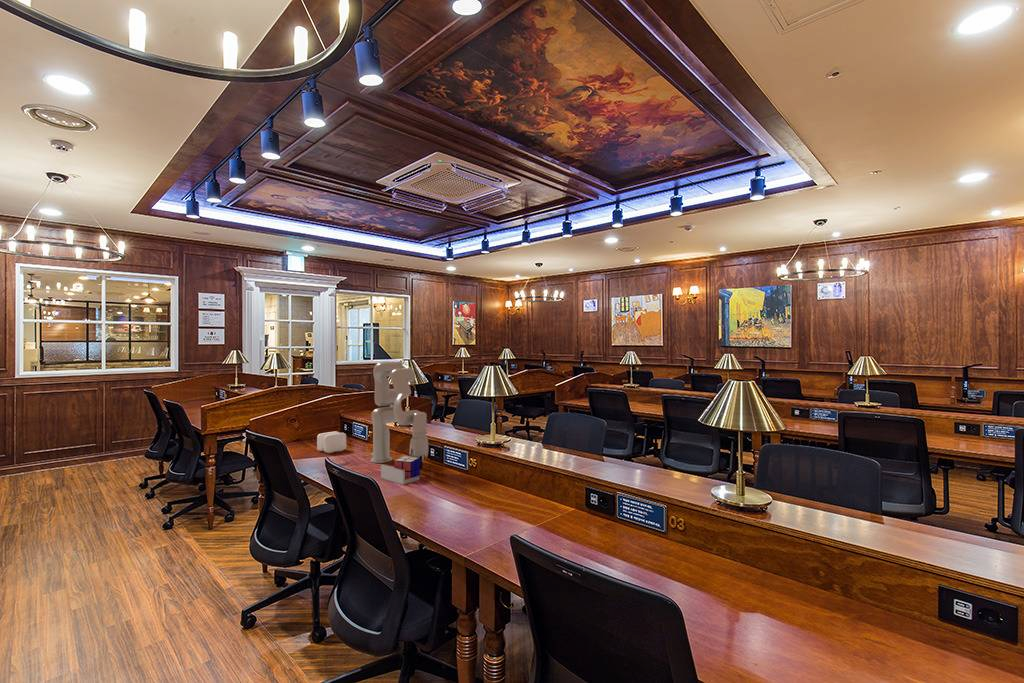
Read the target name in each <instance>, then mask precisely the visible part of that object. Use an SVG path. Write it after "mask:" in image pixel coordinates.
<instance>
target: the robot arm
mask: <svg viewBox="0 0 1024 683" xmlns="http://www.w3.org/2000/svg"><path fill="white" fill-rule="evenodd" d="M372 373H373V374H372V375H373V380H374V404H375V405H377V406H378V408H375V409H373V411H372V412H371V414H370V415H371V422H372V452H371V453H370V456H372V457H371V458H370V462H371V463H374V464H383V463H385V464H386V463H388V462H391V461H393V457H392V456H390V439H391V438H390V437H391V436H390V429H389V427H388V426H387V424H389V423H395V422H396V423H397V424H398V425H399V426H407V425H408V426H409V425H412V437H411V439H410V442H409V452H408V453H409V457H419V458H420V470H423V462H424V461H425V460H424V459H425V458H427V457H428V455H429V449H430V447H429V440H428V436H427V435H428V434H429V433H428V431H427V426H428V425H427V423H428V422H427V416H428V414H427V413H426V412H424V411H419V410H417V409H413V410H403V408H402V401H403V400H404V399H406V398H408V397H409V396H410V395H411V394H412V390H411V387H410V384H409V383H413V382H414V381H415V378H416V373H415V371H414V370H413V369H412V368H411V367H410V366H409V365H407V364H406V363H404V362H402V361H386V362H385V361H383V362H378V363H377V364H375V366H374V367H373V371H372ZM388 377H390V379H391V383H392V386H393V388H390V384H391V383H390V380H389V379H388ZM384 406H385V407H384Z"/></svg>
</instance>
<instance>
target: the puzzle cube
mask: <svg viewBox="0 0 1024 683" xmlns="http://www.w3.org/2000/svg"><path fill="white" fill-rule="evenodd" d="M393 467H395V468H398V469H402V470H405V479H408V478H411V477H415V476H418V475H419V476H420V477H421V469H420V458H419V457H411V456H406V455H404V456H401V457H399V458H398V459H395V460H394V461H393Z"/></svg>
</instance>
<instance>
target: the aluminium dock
mask: <svg viewBox="0 0 1024 683" xmlns="http://www.w3.org/2000/svg"><path fill="white" fill-rule="evenodd" d="M420 477H421V475H420V476H419V475H418V476H415V477H411V478H408V479H405V470H402V469H398V468H395V467H394V466H391V465H388V464H383V463H381V464H380V478H381V479H384V480H385V481H386V480H387V481H390V482H394V483H397V484H400V485H403V486H404V485H406V484H410V483H414V482H416V481H420V479H421V478H420Z"/></svg>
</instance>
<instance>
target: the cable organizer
mask: <svg viewBox="0 0 1024 683" xmlns="http://www.w3.org/2000/svg"><path fill="white" fill-rule="evenodd" d="M346 448H347V434H346V433H344V432H339V431H337V430H336V431H335V430H334V431H329V432H323V433H319V434H317V436H316V449H317V451H320V452H321V451H322V452H325V453H327V454H332V453H334V452H343V451H344V450H346Z"/></svg>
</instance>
